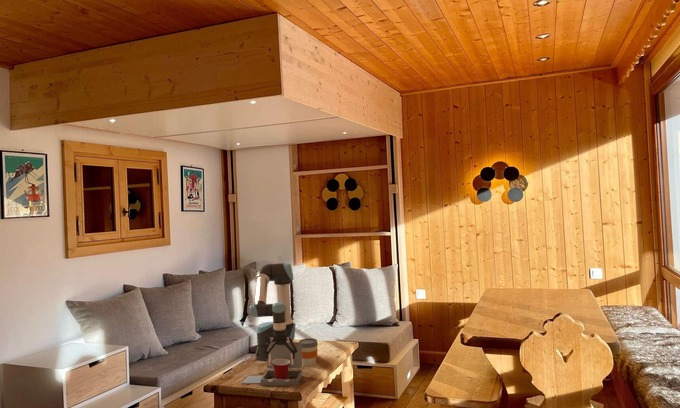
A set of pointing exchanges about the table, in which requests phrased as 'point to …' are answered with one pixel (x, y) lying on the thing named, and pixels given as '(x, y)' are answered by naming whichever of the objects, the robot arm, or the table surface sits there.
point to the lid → (286, 355)
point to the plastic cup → (281, 368)
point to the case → (281, 381)
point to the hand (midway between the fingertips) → (281, 364)
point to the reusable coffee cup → (309, 351)
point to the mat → (252, 380)
